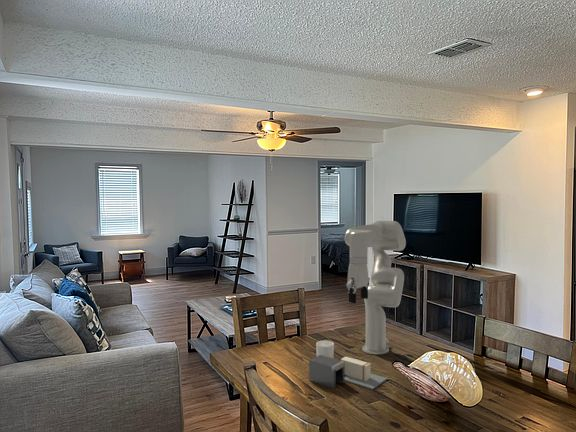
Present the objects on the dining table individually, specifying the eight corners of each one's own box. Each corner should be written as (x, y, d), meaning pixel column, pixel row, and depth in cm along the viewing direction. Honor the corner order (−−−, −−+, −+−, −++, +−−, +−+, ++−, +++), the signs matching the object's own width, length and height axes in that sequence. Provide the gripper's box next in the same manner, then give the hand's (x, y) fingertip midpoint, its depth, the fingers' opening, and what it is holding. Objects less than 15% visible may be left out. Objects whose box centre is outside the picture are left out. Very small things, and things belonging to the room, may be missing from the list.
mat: (357, 370, 187) (357, 369, 187) (387, 379, 178) (387, 378, 178) (341, 380, 178) (341, 378, 178) (372, 389, 169) (372, 388, 169)
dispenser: (320, 374, 183) (320, 354, 183) (344, 382, 175) (344, 361, 175) (309, 380, 177) (309, 359, 177) (333, 388, 170) (333, 367, 169)
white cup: (333, 369, 188) (333, 347, 188) (314, 368, 190) (314, 345, 189) (334, 363, 196) (334, 341, 195) (317, 361, 197) (317, 340, 197)
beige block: (345, 370, 186) (345, 356, 186) (370, 377, 178) (370, 363, 178) (340, 373, 183) (340, 359, 183) (365, 381, 175) (365, 366, 175)
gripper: (361, 257, 194) (361, 295, 195) (339, 262, 181) (339, 303, 182) (376, 258, 190) (376, 298, 190) (355, 263, 176) (355, 305, 177)
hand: (358, 300), depth 186 cm, fingers open, 9 cm apart
